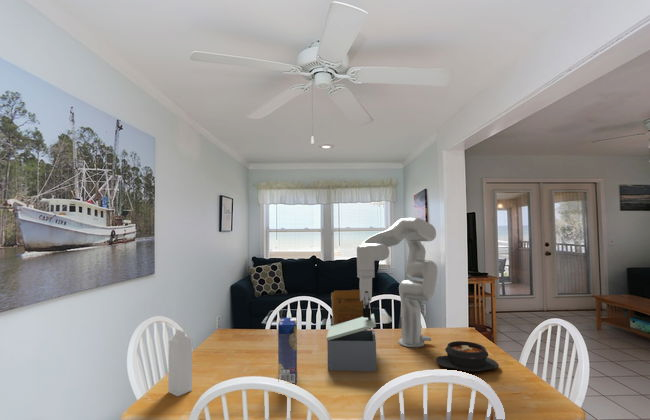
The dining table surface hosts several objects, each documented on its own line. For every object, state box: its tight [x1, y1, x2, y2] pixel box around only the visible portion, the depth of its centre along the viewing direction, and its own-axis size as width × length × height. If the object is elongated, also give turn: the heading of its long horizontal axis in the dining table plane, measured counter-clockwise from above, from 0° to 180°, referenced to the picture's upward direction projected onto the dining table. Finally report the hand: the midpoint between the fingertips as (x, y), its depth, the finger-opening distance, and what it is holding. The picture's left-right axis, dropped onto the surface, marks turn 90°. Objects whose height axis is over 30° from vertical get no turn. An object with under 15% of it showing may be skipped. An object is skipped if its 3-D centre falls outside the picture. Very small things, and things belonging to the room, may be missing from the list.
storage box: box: [326, 329, 377, 373], centre depth 159 cm, size 20×16×12 cm
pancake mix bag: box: [330, 289, 368, 330], centre depth 181 cm, size 7×19×28 cm, turn 80°
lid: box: [326, 313, 377, 342], centre depth 159 cm, size 21×17×7 cm
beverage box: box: [277, 317, 298, 384], centre depth 145 cm, size 7×11×22 cm, turn 3°
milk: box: [167, 329, 193, 398], centre depth 134 cm, size 6×6×22 cm
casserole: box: [435, 340, 500, 373], centre depth 154 cm, size 25×19×8 cm
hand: (366, 315), depth 158 cm, fingers closed on lid, 5 cm apart
